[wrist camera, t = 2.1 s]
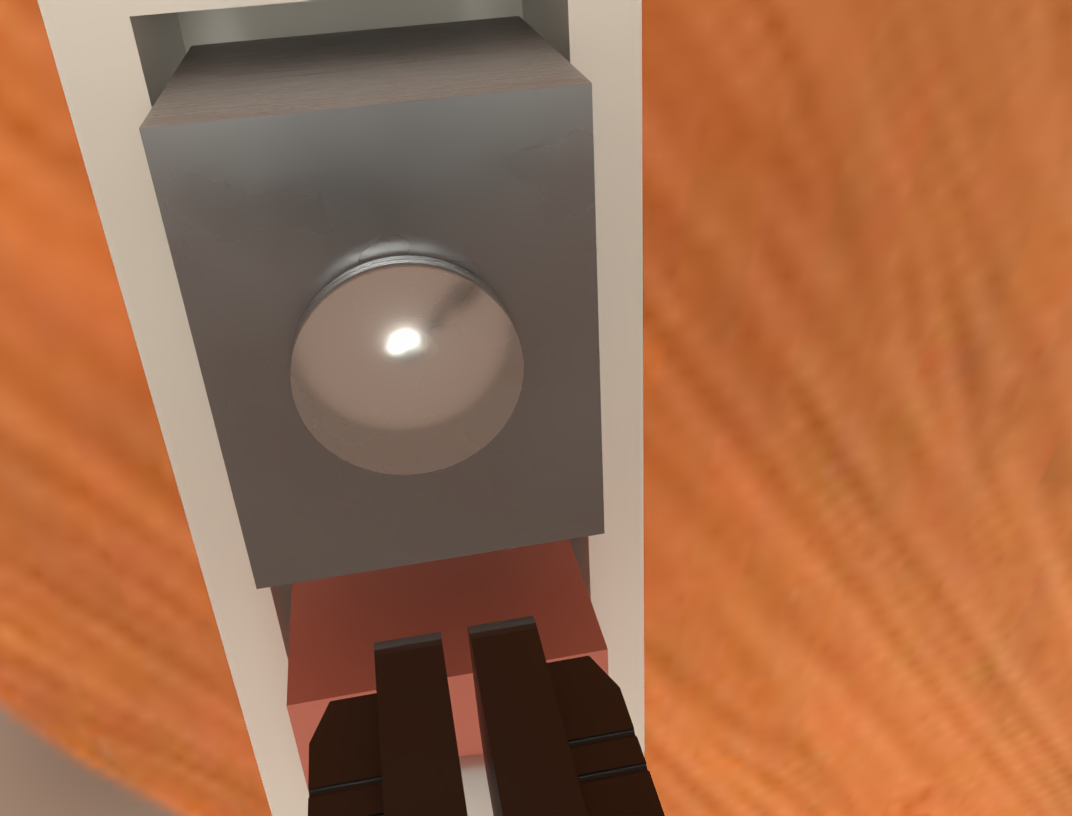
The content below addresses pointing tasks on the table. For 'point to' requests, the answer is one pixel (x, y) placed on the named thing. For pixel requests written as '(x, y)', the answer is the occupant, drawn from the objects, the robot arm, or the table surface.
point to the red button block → (426, 607)
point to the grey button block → (389, 289)
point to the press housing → (167, 345)
